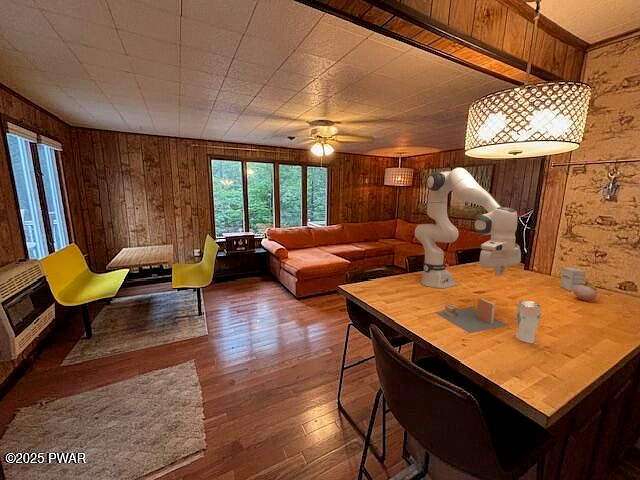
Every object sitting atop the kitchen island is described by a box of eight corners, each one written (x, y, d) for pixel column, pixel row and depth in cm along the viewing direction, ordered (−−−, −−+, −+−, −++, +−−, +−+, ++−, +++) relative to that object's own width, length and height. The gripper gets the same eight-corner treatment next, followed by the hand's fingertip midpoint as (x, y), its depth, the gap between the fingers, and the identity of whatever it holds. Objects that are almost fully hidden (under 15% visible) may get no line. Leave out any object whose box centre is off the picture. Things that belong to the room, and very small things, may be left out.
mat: (470, 308, 131) (470, 307, 131) (509, 326, 112) (509, 325, 112) (434, 314, 125) (434, 312, 125) (469, 334, 106) (469, 333, 106)
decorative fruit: (598, 301, 138) (601, 283, 137) (593, 305, 134) (596, 286, 132) (574, 296, 146) (577, 279, 145) (569, 299, 142) (572, 281, 140)
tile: (479, 316, 121) (480, 298, 119) (493, 323, 114) (495, 303, 113) (476, 316, 120) (478, 298, 119) (490, 323, 114) (492, 304, 112)
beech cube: (451, 312, 125) (452, 304, 125) (458, 315, 122) (458, 307, 121) (444, 313, 124) (445, 305, 124) (451, 317, 120) (451, 308, 120)
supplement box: (559, 286, 162) (562, 267, 160) (573, 287, 161) (576, 267, 159) (569, 290, 155) (572, 270, 153) (583, 291, 153) (586, 270, 151)
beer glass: (511, 334, 106) (515, 299, 104) (532, 337, 103) (537, 301, 101) (517, 342, 100) (521, 306, 97) (539, 346, 97) (544, 308, 95)
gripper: (512, 242, 120) (509, 271, 122) (478, 244, 114) (475, 275, 116) (526, 244, 114) (523, 274, 116) (491, 247, 108) (488, 279, 110)
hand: (499, 275), depth 116 cm, fingers closed
